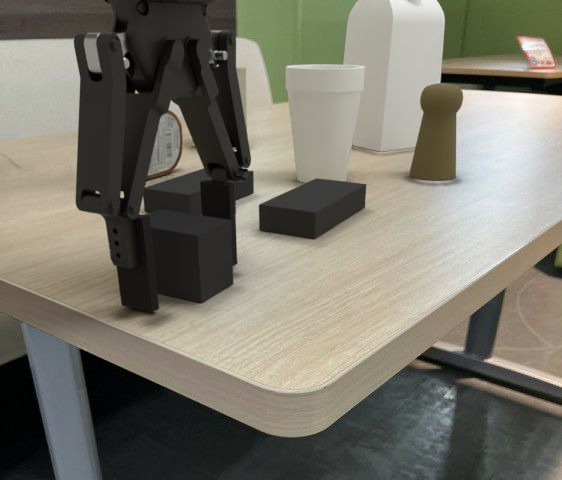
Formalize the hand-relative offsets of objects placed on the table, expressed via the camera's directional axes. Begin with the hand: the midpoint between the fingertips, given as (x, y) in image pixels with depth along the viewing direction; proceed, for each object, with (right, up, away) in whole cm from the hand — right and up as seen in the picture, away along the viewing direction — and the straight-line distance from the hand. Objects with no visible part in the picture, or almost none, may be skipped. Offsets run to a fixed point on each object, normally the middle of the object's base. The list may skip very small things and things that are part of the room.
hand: (184, 282), depth 48 cm
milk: (+25, +32, +57) cm, 69 cm away
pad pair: (+5, +11, +20) cm, 23 cm away
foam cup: (+13, +18, +33) cm, 39 cm away
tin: (-10, +18, +32) cm, 38 cm away
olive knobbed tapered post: (+28, +19, +35) cm, 48 cm away
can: (-2, +30, +54) cm, 62 cm away
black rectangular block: (0, 0, 0) cm, 0 cm away
